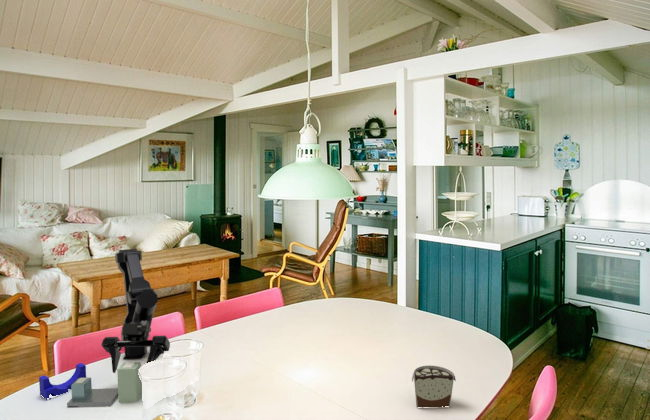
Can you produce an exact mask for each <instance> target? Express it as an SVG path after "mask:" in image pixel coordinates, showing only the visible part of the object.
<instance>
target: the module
mask: <svg viewBox="0 0 650 420" xmlns="http://www.w3.org/2000/svg"><path fill="white" fill-rule="evenodd" d="M140 367H141V368H142V362H141V361H138V362H137V361H127V362H126V361H125V362H123V363H121V364H120V366H119V367H117V370H116V371H117V388H118V397H117V399H118V400H117V401H118V404H119V403H120V404H121V403H137V402H138V400H139V399H140V398H141V396H142V395H143V392H142V391H143V390H142V389H143V388H142V387H143V386H142V385H143V384H142V379H141V380H140V378H139V375H138V369H139V368H140ZM141 394H142V395H141Z"/></svg>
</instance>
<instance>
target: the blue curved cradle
mask: <svg viewBox="0 0 650 420" xmlns="http://www.w3.org/2000/svg"><path fill="white" fill-rule="evenodd" d="M78 378H87V366H86V364H84V363H82V362H79V363H77V364H76V365H75V370H74V372H73V374H72V376H71V377H70V378H69V379H67V380H66V381H65V382H63V383H60V384H52V383H51V381H50V377H48V376H47V375H41V376H39V377H38V381H39V382H38V383H39V396H40V395H42V396H43V397H44V398H46V399H47V398H49V395H50V394H51V395H52V396H56V395H60V394H63V393H65V394H67V393H66V392H68V393H69V390H68V389H70V390H71V385H72V384H73V383H74V382H75V381H76V380H77V379H78ZM63 395H64V394H63ZM60 396H61V395H60ZM44 398H43V399H44Z"/></svg>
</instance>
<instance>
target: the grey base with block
mask: <svg viewBox="0 0 650 420" xmlns="http://www.w3.org/2000/svg"><path fill="white" fill-rule="evenodd" d="M92 386H93V385H92V377H86V378H78V379H77V380H76V381H75V382H74V383H73V384H72V385H71V389H70V391H71V398H70V399H69V400H68V402H67V403H66V407H67V406H93V407H111V406H112V405H113V404H114V402H116V400H117V399H118V387H114V388H113V387H112V388H111V387H109V388H92Z"/></svg>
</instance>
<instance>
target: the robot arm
mask: <svg viewBox="0 0 650 420" xmlns="http://www.w3.org/2000/svg"><path fill="white" fill-rule="evenodd" d="M114 257H115V259H114V260H115V263H116V264H117V268H118V270H119V271H120V272H121V273H122V274H123V282H124V283H123V284H124V294H125V302H126V303H125V304H126V313H127V314H126V316H125V317H124V319H123V323H122V326H121V331H120V338H119V336H105V337H104V338H103V339H102V342H101V345H100V346H101V347H102V348H103V350H105V352H106V353H109V355H110V360H111V367H112V373H113V374H116V371H117V369H118V366H119V361H120V358H121V355H122V353H121V350H122V348H124V355H123V357H122V359H123V360H141V359H143V358H144V356H145V355H147V353H148V348H149V353H148V357H147V361H146V363H148V362H151V361H154V360H155V361H156V360H157V359H158V358H159V357H160V355H163V354H165V352H169V351H170V347H171V343H170V340H169V339H168V337H167V336H166V335H153V337H152V339H149V337H150V333H151V331H152V327H151V326H152V323H153V318H154V314H155V313H154V312H155V310H156V307H157V304H158V301H159V300H158V294H157V293H156V291H154V288H152V287H151V283H150V282H149V281H148V280H146V279H145V277H144V273H143V269H142V264H141V261H142V260H143V257H142V250H137V248H131V249H129V248H128V249H127V248H126V249H119V250H118V252H116V253H115V256H114ZM120 339H121V340H120Z"/></svg>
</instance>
